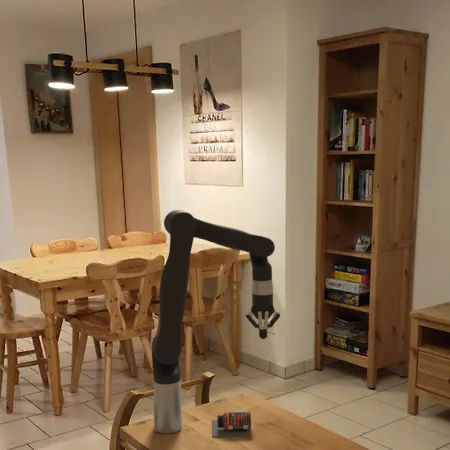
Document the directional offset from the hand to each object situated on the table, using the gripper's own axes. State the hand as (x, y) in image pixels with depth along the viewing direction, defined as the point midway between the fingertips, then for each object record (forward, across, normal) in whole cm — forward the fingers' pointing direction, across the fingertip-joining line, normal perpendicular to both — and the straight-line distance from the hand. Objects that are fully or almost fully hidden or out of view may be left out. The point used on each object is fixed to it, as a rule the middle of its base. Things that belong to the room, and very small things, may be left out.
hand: (263, 338), depth 203 cm
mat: (+27, -13, -13) cm, 33 cm away
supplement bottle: (+24, -6, -15) cm, 29 cm away
